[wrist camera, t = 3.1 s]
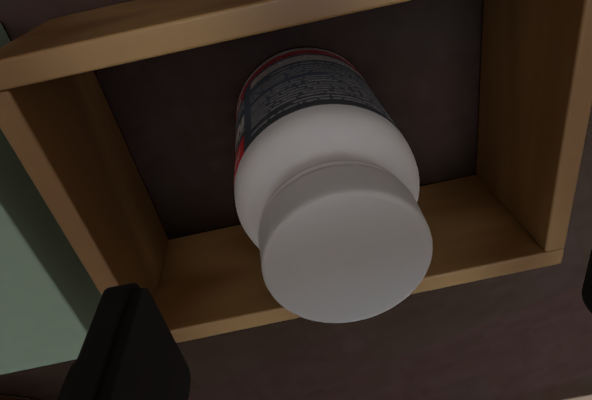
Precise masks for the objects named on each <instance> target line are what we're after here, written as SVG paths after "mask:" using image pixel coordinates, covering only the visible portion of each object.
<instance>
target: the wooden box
mask: <svg viewBox="0 0 592 400" xmlns="http://www.w3.org/2000/svg"><path fill="white" fill-rule="evenodd" d="M406 1H411V0H134V1H129V2H125V3H120V4H116V5H111V6H107V7H102V8H98V9H93V10H89V11H84V12H80V13H75V14H71V15H67V16H62V17H58V18H53V19H50V20H48V21H46V22H45V23H43V24H41V25H39V26H37V27H36V28H34V29H32V30H30V31H29V32H27V33H25V34H23V35H21V36H20V37H18V38H16V39H14V40H13V41H11V42H9V43H7V44H6V45H4V46H2V47H0V128H1V130H2V132H3V133H4V135H5V137H6V138H7V140H8V142H9V143H10V145H11V147H12V148H13V150H14V152H15V153H16V155H17V157H18V158H19V160H20V161H21V163H22V165H23V166H24V168H25V170H26V171H27V173H28V175H29V176H30V178H31V180H32V181H33V183H34V185H35V186H36V188H37V190H38V191H39V193H40V194H41V196H42V198H43V199H44V201H45V203H46V204H47V206H48V208H49V209H50V211H51V213H52V214H53V216H54V218H55V219H56V221H57V222H58V224H59V226H60V227H61V229H62V231H63V232H64V234H65V236H66V237H67V239H68V241H69V242H70V244H71V246H72V247H73V249H74V251H75V252H76V254H77V255H78V257H79V259H80V260H81V262H82V264H83V265H84V267H85V269H86V270H87V272H88V274H89V275H90V277H91V279H92V280H93V282H94V284H95V285H96V287H97V288H98V290H99V292H100V293H101V295H102V294H103V292H104V290H105V289H107V288H109V287H114V286H119V285H124V284H129V283H136V284H138V285H139V287H140V288H147V289H148V290H149V292H150V293H151V295H152V297H153V299H154V301H155V303H156V305H157V307H158V309H159V311H160V313H161V315H162V316H163V318H164V320H165V322H166V324H167V326H168V328H169V330H170V332H171V334H172V336H173V338H174V340H175V342H176V343H179V342H184V341H189V340H194V339H198V338H203V337H208V336H213V335H218V334H223V333H227V332H232V331H237V330H242V329H247V328H251V327H256V326H261V325H266V324H271V323H275V322H280V321H285V320H290V319H295V318H300V316H298V315H296V314H294V313H292V312H290V311H288V310H287V309H285V308H284V307H283V306H282V305H280V304H279V303H278V302H277V301H276V300H275V299H274V297H273V296H272V295H271V293H270V291H269V290H268V289H267V287H266V285H265V282H264V279H263V275H262V269H261V258H260V250H259V248H258V247H257V246H256V245H255V244H254V243H253V242H252V240H251V239H250V238H249V236H248V235H247V233H246V232H245V230H244V229H243V227H242V225H236V226H232V227H227V228H222V229H218V230H213V231H208V232H203V233H199V234H194V235H189V236H185V237H180V238H175V239H170V240H168V237H167V235H166V233H165V230H164V228H163V226H162V224H161V221H160V219H159V217H158V215H157V212H156V210H155V208H154V206H153V203H152V201H151V199H150V197H149V194H148V192H147V190H146V188H145V185H144V183H143V181H142V179H141V176H140V174H139V172H138V170H137V167H136V165H135V163H134V161H133V158H132V156H131V154H130V152H129V149H128V147H127V145H126V143H125V140H124V138H123V136H122V134H121V131H120V129H119V127H118V125H117V122H116V120H115V118H114V116H113V113H112V111H111V109H110V107H109V104H108V102H107V100H106V98H105V95H104V93H103V91H102V89H101V86H100V84H99V82H98V80H97V78H96V75H95V73H94V70H98V69H103V68H107V67H112V66H116V65H121V64H125V63H130V62H135V61H139V60H144V59H148V58H153V57H157V56H162V55H166V54H171V53H175V52H180V51H184V50H189V49H193V48H198V47H202V46H207V45H212V44H216V43H221V42H225V41H230V40H234V39H239V38H243V37H248V36H252V35H257V34H261V33H266V32H270V31H275V30H279V29H284V28H289V27H293V26H298V25H302V24H307V23H311V22H316V21H320V20H325V19H329V18H334V17H338V16H343V15H347V14H352V13H356V12H361V11H366V10H370V9H375V8H379V7H384V6H388V5H393V4H397V3H402V2H406ZM591 105H592V0H484V3H483V26H482V50H481V73H480V96H479V119H478V142H477V166H476V175H472V176H467V177H462V178H458V179H453V180H448V181H443V182H439V183H434V184H429V185H425V186H420V187H419V197H418V201H417V204H418V206H419V208H420V210H421V212H422V214H423V216H424V218H425V220H426V222H427V224H428V226H429V229H430V232H431V236H432V242H433V245H432V247H433V250H432V258H431V262H430V265H429V268H428V270H427V272H426V274H425V276H424V278H423V279H422V281H421V282H420V284H419V285H418V286H417V288H416V289H415V290H414V291H413V292H412V293H411V294H415V293H420V292H425V291H429V290H434V289H439V288H444V287H449V286H453V285H458V284H463V283H468V282H473V281H478V280H482V279H487V278H492V277H497V276H502V275H506V274H511V273H516V272H521V271H526V270H530V269H535V268H540V267H545V266H550V265H555V264H559V263H561V262H562V257H563V252H564V249H563V248H564V247H565V241H566V236H567V231H568V226H569V220H570V215H571V210H572V205H573V199H574V194H575V189H576V184H577V179H578V173H579V168H580V163H581V158H582V152H583V147H584V142H585V137H586V131H587V126H588V121H589V116H590V111H591Z"/></svg>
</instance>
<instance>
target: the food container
mask: <svg viewBox="0 0 592 400" xmlns="http://www.w3.org/2000/svg"><path fill="white" fill-rule="evenodd" d="M0 400H35V399H29V398H22V397H15V396H7V395H0Z"/></svg>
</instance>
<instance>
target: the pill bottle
mask: <svg viewBox="0 0 592 400" xmlns="http://www.w3.org/2000/svg"><path fill="white" fill-rule="evenodd" d="M419 186H420V185H419V173H418V168H417V164H416V161H415V158H414V156H413V153H412V151H411V149H410V147H409V145H408V143H407V141H406V140H405V138H404V136H403V135H402V133H401V131H400V130H399V128H398V127H397V126H396V124H395V123H394V122H393V120H392V119H391V118H390V116H389V115H388V114H387V112H386V111H385V109H384V108H383V107H382V105H381V104H380V102H379V101H378V99H377V98H376V96H375V95H374V93H373V92H372V90H371V89H370V87H369V85H368V84H367V82H366V81H365V79H364V78H363V76H362V75H361V74H360V73H359V71H358V70H357V69H356V68H355V67H354V66H353V65H352V64H351V63H350V62H349V61H347V60H346V59H344V58H343V57H341V56H339V55H337V54H335V53H333V52H330V51H327V50H324V49H319V48H295V49H290V50H287V51H284V52H281V53H278V54H276V55H274V56H272V57H271V58H269V59H267V60H266V61H265V62H263V63H262V64H261V65H260V66H258V67H257V68H256V69H255V70H254V72H253V73H252V74H251V75H250V77H249V78H248V79H247V81H246V82H245V84H244V86H243V88H242V90H241V93H240V95H239V99H238V103H237V111H236V143H235V169H234V197H235V205H236V210H237V214H238V217H239V220H240V222H241V225H242V227H243V229H244V230H245V232H246V233H247V235H248V236H249V238H250V239H251V240H252V242H253V243H254V244H255V245H256V246H257V247H258V248H259V250H260V258H261V269H262V275H263V279H264V282H265V285H266V287H267V289H268V290H269V291H270V293H271V295H272V296H273V297H274V299H275V300H276V301H277V302H278V303H279V304H280V305H282V306H283V307H284V308H285V309H287V310H288V311H290V312H292V313H294V314H296V315H298V316H300V317H303V318H305V319H309V320H313V321H318V322H325V323H346V322H353V321H359V320H363V319H367V318H371V317H373V316H376V315H378V314H381V313H383V312H385V311H387V310H389V309H391V308H392V307H394V306H396V305H397V304H398V303H400V302H401V301H403V300H404V299H405V298H407V297H408V296H409V295H410V294H411V293H412V292H413V291H414V290H415V289H416V288H417V286H418V285H419V284H420V282H421V281H422V279H423V278H424V276H425V274H426V272H427V270H428V268H429V265H430V262H431V258H432V250H433V247H432V245H433V242H432V236H431V232H430V229H429V226H428V224H427V222H426V220H425V218H424V216H423V214H422V212H421V210H420V208H419V206H418V204H417V201H418V197H419Z"/></svg>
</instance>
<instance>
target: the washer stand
mask: <svg viewBox="0 0 592 400" xmlns="http://www.w3.org/2000/svg"><path fill="white" fill-rule="evenodd" d="M9 42H11V41H10V39H9V37H8V35H7V33H6V31H5V30H4V28H3V26H2V24H1V22H0V47H2V46H4V45H6V44H7V43H9ZM101 296H102V295H101V293H100V292H99V290H98V288H97V287H96V285H95V284H94V282H93V280H92V279H91V277H90V275H89V274H88V272H87V270H86V269H85V267H84V265H83V264H82V262H81V260H80V259H79V257H78V255H77V254H76V252H75V251H74V249H73V247H72V246H71V244H70V242H69V241H68V239H67V237H66V236H65V234H64V232H63V231H62V229H61V227H60V226H59V224H58V222H57V221H56V219H55V218H54V216H53V214H52V213H51V211H50V209H49V208H48V206H47V204H46V203H45V201H44V199H43V198H42V196H41V194H40V193H39V191H38V190H37V188H36V186H35V185H34V183H33V181H32V180H31V178H30V176H29V175H28V173H27V171H26V170H25V168H24V166H23V165H22V163H21V161H20V160H19V158H18V157H17V155H16V153H15V152H14V150H13V148H12V147H11V145H10V143H9V142H8V140H7V138H6V137H5V135H4V133H3V132H2V130H1V128H0V375H2V374H7V373H12V372H17V371H22V370H26V369H31V368H36V367H41V366H46V365H50V364H55V363H60V362H65V361H70V360H74V359H77V358H78V355H79V353H80V350H81V348H82V345H83V343H84V340H85V337H86V335H87V332H88V330H89V327H90V325H91V322H92V319H93V317H94V314H95V312H96V309H97V307H98V304H99V301H100V299H101Z"/></svg>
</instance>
